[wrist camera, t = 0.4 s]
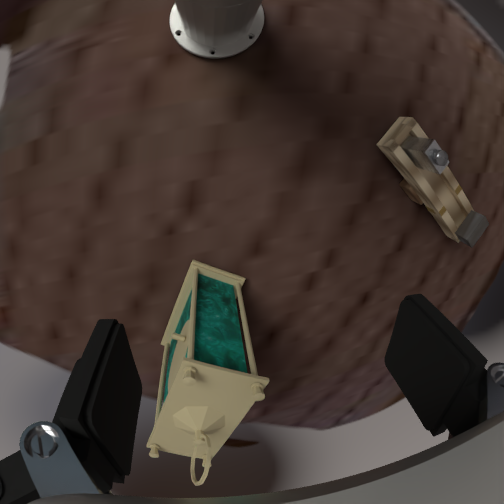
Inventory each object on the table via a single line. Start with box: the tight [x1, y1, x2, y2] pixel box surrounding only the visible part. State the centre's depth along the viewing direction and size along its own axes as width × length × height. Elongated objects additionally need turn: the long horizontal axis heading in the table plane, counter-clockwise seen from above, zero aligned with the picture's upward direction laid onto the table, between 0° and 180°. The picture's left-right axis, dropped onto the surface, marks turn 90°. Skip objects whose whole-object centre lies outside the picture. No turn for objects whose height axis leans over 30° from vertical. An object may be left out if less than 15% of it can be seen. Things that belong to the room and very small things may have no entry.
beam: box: [376, 117, 489, 247], centre depth 40 cm, size 22×7×10 cm, turn 50°
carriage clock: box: [147, 260, 269, 486], centre depth 35 cm, size 17×9×30 cm, turn 156°
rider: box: [400, 136, 449, 174], centre depth 35 cm, size 4×2×7 cm, turn 50°
